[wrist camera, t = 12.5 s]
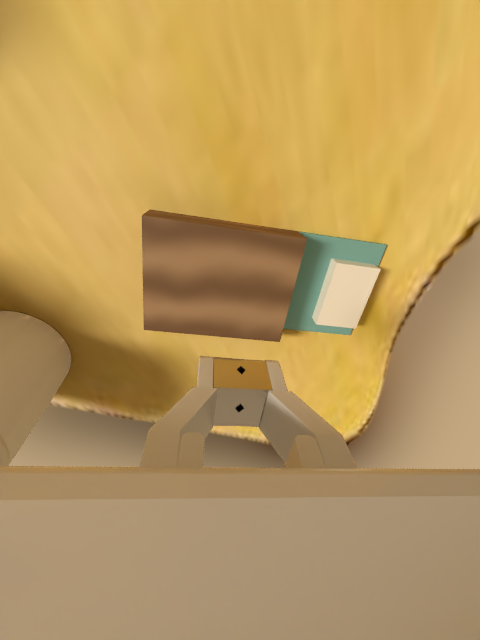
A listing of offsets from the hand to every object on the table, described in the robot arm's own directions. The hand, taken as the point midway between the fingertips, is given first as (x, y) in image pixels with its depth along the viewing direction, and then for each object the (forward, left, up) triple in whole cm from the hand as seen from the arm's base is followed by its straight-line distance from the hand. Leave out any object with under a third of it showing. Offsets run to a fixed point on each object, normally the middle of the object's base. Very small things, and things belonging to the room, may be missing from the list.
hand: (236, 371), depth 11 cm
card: (+6, +18, -24) cm, 31 cm away
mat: (+6, +15, -27) cm, 31 cm away
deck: (+6, 0, -27) cm, 27 cm away
